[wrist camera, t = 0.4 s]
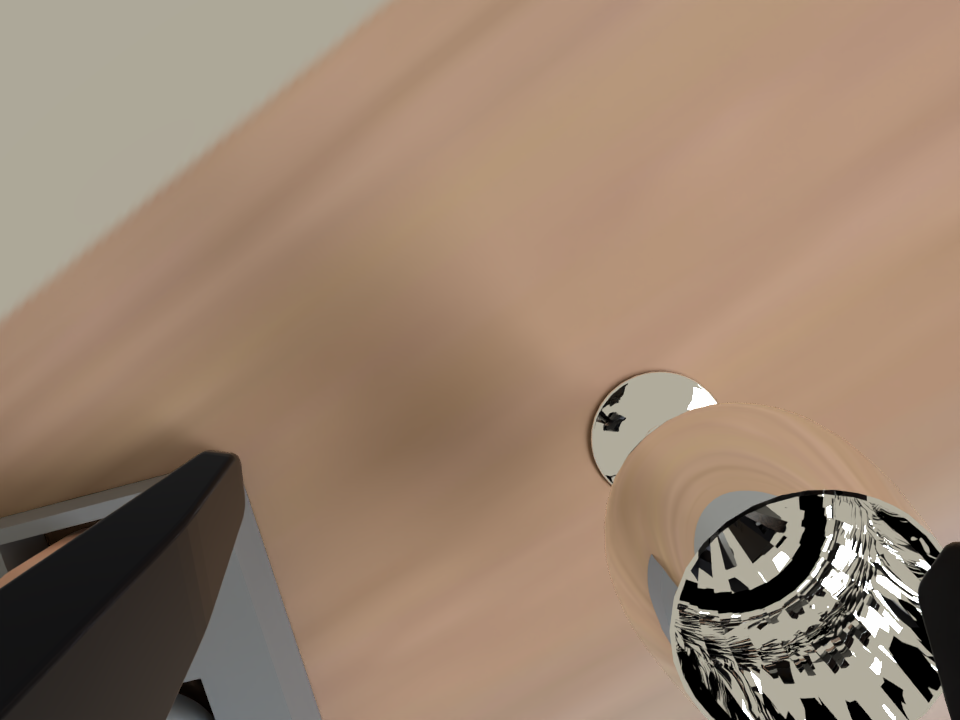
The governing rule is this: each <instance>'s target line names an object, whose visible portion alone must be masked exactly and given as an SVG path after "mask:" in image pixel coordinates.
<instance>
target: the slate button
mask: <svg viewBox="0 0 960 720" xmlns="http://www.w3.org/2000/svg"><path fill="white" fill-rule="evenodd" d="M166 720H215V719H214V718H213V716H212V715H211V714H210V713H209V712H208V711H207V710H206V709H205V708H204V707H203V706H201V705H200V704H199V703H197V702H196V701H194V700H192V699H191V698H188V697H186V696H184V695H181V694H178V695H177V697H176V699H175V701H174V703H173V706H172V708H171V710H170V712H169V714H168V717H167V719H166Z"/></svg>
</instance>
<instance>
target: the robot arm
mask: <svg viewBox="0 0 960 720" xmlns="http://www.w3.org/2000/svg"><path fill="white" fill-rule="evenodd" d="M244 512H245V492H244V484H243V476H242V468H241V462H240V459H239V457H238V456H237V455H236V454H234V453H228V452H220V451H211V450H208V451H204V452H202V453H200V454H198V455H197V456H195V457H194V458H192V459H191V460H189V461H188V462H186V463H185V464H183V465H182V466H180V467H179V468H177V469H176V470H174V471H173V472H172V473H170V474H169V475H167V476H166V477H164V478H163V479H161V480H160V481H158V482H157V483H155V484H154V485H152V486H151V487H149V488H148V489H146V490H145V491H143V492H142V493H140V494H139V495H137V496H136V497H134V498H133V499H132V500H130V501H129V502H127V503H126V504H124V505H123V506H121V507H120V508H118V509H117V510H115V511H114V512H112V513H111V514H109V515H108V516H106V517H105V518H103V519H102V520H100V521H99V522H97V523H96V524H94V525H93V526H92V527H90V528H89V529H87V530H86V531H84V532H83V533H81V534H80V535H78V536H77V537H75V538H74V539H72V540H71V541H69V542H68V543H66V544H65V545H63V546H62V547H60V548H59V549H57V550H56V551H54V552H53V553H52V554H50V555H49V556H47V557H46V558H44V559H43V560H41V561H40V562H38V563H37V564H35V565H34V566H32V567H31V568H29V569H28V570H26V571H25V572H23V573H22V574H20V575H19V576H17V577H16V578H15V579H13V580H12V581H10V582H9V583H7V584H6V585H4V586H3V587H1V588H0V720H166V719H167V717H168V714H169V712H170V710H171V708H172V706H173V703H174V701H175V699H176V697H177V695H178V692H179V690H180V688H181V686H182V684H183V681H184V679H185V677H186V675H187V673H188V670H189V668H190V666H191V664H192V662H193V659H194V657H195V655H196V653H197V651H198V648H199V646H200V644H201V641H202V639H203V637H204V634H205V632H206V629H207V627H208V624H209V621H210V618H211V615H212V612H213V610H214V606H215V603H216V600H217V597H218V594H219V591H220V588H221V585H222V582H223V579H224V576H225V572H226V569H227V566H228V563H229V560H230V557H231V554H232V551H233V548H234V545H235V542H236V539H237V535H238V532H239V529H240V526H241V523H242V520H243V517H244ZM918 602H919V606H920V610H921V614H922V617H923V621H924V625H925V628H926V632H927V635H928V639H929V643H930V646H931V650H932V654H933V657H934V661H935V665H936V668H937V672H938V675H939V679H940V683H941V686H942V690H943V694H944V697H945V701H946V704H947V707H948V711H949V714H950V717H951V720H960V542H952V543H950V544H948V545H946V546H945V547H944V548H943V550H942V551H941V553H940V554H939V555H938V557H937V558H936V560H935V561H934V563H933V564H932V565H931V567H930V568H929V570H928V571H927V573H926V574H925V575H924V577H923V578H922V580H921V582H920V584H919V587H918Z"/></svg>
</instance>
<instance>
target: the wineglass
mask: <svg viewBox="0 0 960 720" xmlns="http://www.w3.org/2000/svg"><path fill="white" fill-rule="evenodd" d="M591 448H592V454H593V457H594V460H595V463H596V465H597V467H598V469H599V471H600V472H601V474H602V475H603V477H604V478H605V479H606V480H607V482H608V483H610V484H611V485H612V487H611V490H610V493H609V497H608V500H607V503H606V511H605V521H604V545H605V556H606V563H607V567H608V572H609V575H610V578H611V581H612V584H613V587H614V589H615V592H616V595H617V597H618V600H619V602H620V604H621V606H622V608H623V610H624V613H625V615H626V617H627V619H628V621H629V623H630V625H631V626H632V628H633V630H634V631H635V633H636V635H637V636H638V638H639V639H640V640H641V642H642V643H643V645H644V646H645V648H646V649H647V650H648V652H649V653H650V654H651V656H652V657H653V658H654V660H655V661H656V662H657V663H658V665H659V666H660V667H661V668H662V670H663V671H664V672H665V674H666V675H667V676H668V677H669V679H670V680H671V681H672V682H673V683H674V684H675V685H676V687H677V688H678V689H679V690H680V691H681V692H682V693H683V694H684V695H685V696H686V697H687V698H688V699H689V701H690V702H691V703H692V704H693V705H694V706H695V707H696V708H697V709H698V710H699V711H700V712H701V713H702V715H703V716H705V717H706V718H707V719H708V720H918V719H919V718H921V717H922V716H923V715H924V714H925V713H926V712H927V711H928V710H929V709H930V707H931V706H932V705H933V704H934V702H935V701H936V700H937V699H938V697H939V696H940V695H941V694H942V692H943V690H942V686H941V683H940V679H939V675H938V672H937V668H936V665H935V661H934V657H933V654H932V650H931V646H930V643H929V639H928V635H927V632H926V628H925V625H924V621H923V617H922V614H921V610H920V606H919V602H918V587H919V584H920V582H921V580H922V578H923V577H924V575H925V574H926V573H927V571H928V570H929V568H930V567H931V565H932V564H933V563H934V561H935V560H936V558H937V557H938V555H939V554H940V553H941V551H942V550H943V548H942V547H941V545H940V544H939V542H938V540H937V539H936V537H935V536H934V534H933V533H932V531H931V530H930V528H929V527H928V525H927V523H926V522H925V521H924V520H923V518H922V517H921V516H920V515H919V513H918V512H917V511H916V510H915V508H914V507H913V506H912V505H911V503H910V502H909V501H908V500H907V498H906V497H905V496H904V495H903V493H902V492H901V491H900V490H899V488H898V487H897V486H896V485H895V484H894V483H893V482H892V481H891V480H890V479H889V478H888V477H887V476H886V475H885V474H884V473H883V472H882V471H881V470H880V469H879V468H878V467H877V466H876V465H875V464H874V463H873V462H872V461H871V460H869V459H868V458H867V457H866V456H865V455H863V454H862V453H861V452H860V451H859V450H857V449H856V448H855V447H854V446H853V445H851V444H850V443H849V442H848V441H847V440H845V439H844V438H842V437H841V436H839V435H837V434H835V433H834V432H832V431H830V430H828V429H827V428H825V427H823V426H821V425H820V424H818V423H816V422H814V421H813V420H811V419H809V418H807V417H804V416H802V415H800V414H797V413H794V412H791V411H788V410H784V409H781V408H777V407H773V406H767V405H761V404H755V403H741V402H730V403H719V404H718V402H717V400H716V399H715V398H714V396H713V395H712V394H711V393H710V392H709V391H708V390H707V389H706V388H705V387H704V386H703V385H701V384H700V383H699V382H697V381H695V380H693V379H691V378H689V377H687V376H685V375H681V374H677V373H672V372H668V371H660V372H648V373H644V374H640V375H636V376H634V377H632V378H630V379H628V380H626V381H624V382H622V383H620V384H619V385H618V386H617V387H615V388H614V389H613V390H612V391H611V392H609V394H608V395H607V396H606V398H605V399H604V400H603V401H602V403H601V404H600V406H599V408H598V410H597V412H596V414H595V416H594V420H593V424H592V428H591Z"/></svg>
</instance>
